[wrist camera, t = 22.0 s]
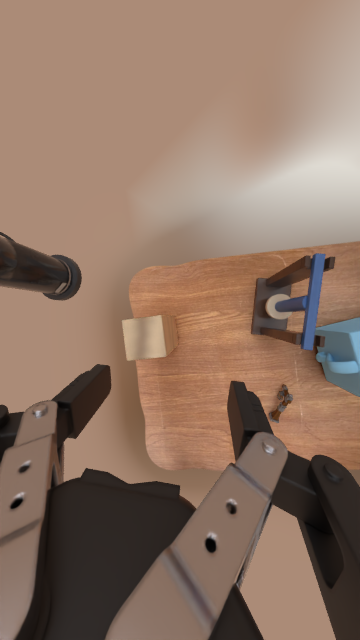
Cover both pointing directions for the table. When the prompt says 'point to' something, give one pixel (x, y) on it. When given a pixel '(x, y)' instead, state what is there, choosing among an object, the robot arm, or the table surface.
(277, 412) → the hanging lantern post
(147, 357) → the riser
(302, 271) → the stand
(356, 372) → the teapot
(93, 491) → the robot arm
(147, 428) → the table surface
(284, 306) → the bar
